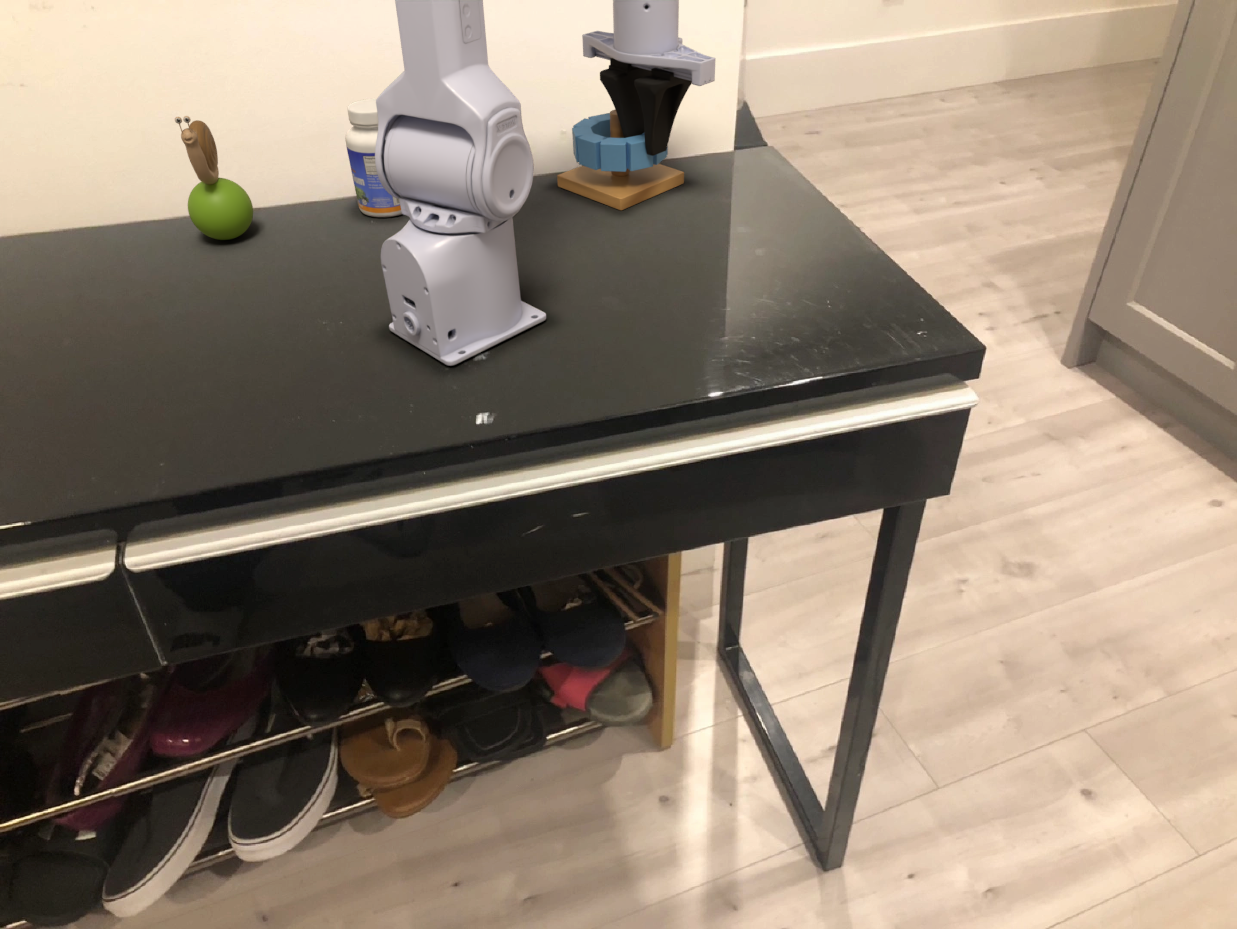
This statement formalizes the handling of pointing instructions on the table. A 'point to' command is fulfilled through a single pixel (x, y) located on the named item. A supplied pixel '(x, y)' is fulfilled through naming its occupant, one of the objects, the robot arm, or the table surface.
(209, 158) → the snail figurine
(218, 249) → the table surface
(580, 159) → the segmented ring
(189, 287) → the table surface
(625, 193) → the peg
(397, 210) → the pill bottle
